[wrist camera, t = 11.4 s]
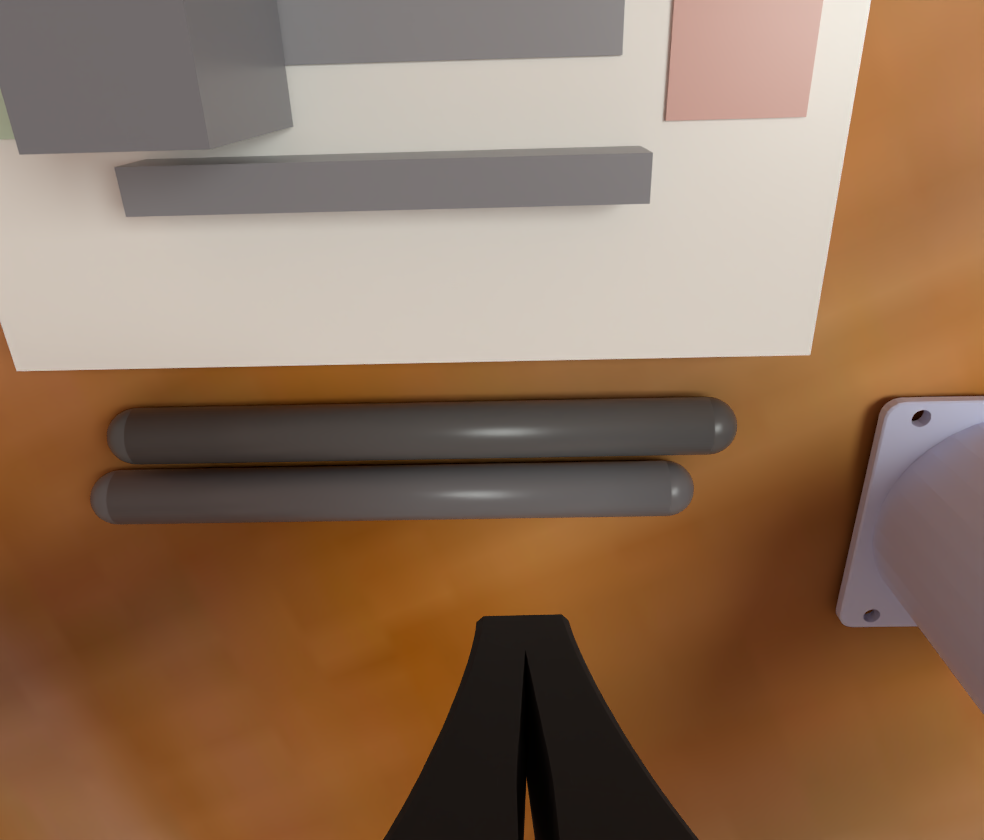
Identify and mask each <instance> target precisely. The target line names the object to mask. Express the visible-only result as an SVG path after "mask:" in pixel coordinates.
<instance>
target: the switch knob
mask: <svg viewBox="0 0 984 840" xmlns="http://www.w3.org/2000/svg"><path fill="white" fill-rule="evenodd" d="M0 89H1V93H2V96H3V99H4V103H5V106H6V110H7V113H8V117H9V120H10V124H11V127H12V131H13V134H14V138H15V141H16V144H17V148H18V151H19V155H24V154H61V153H98V152H134V151H171V150H207V149H214V148H217V147H221V146H225V145H228V144H232V143H235V142H239V141H243V140H246V139H250V138H254V137H257V136H261V135H265V134H268V133H272V132H275V131H279V130H283V129H286V128H290V127H293V120H292V113H291V105H290V98H289V90H288V83H287V75H286V68H285V61H284V53H283V46H282V38H281V31H280V23H279V16H278V8H277V1H276V0H0Z"/></svg>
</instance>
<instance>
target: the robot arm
mask: <svg viewBox="0 0 984 840" xmlns="http://www.w3.org/2000/svg"><path fill="white" fill-rule="evenodd" d="M921 410H924V413H923V415H922V417H920V418H919V419H918V420H915V421H912V417H913V415H914V414H915V413H917V412H918V411H921ZM872 609H873V611H872V612H870V613H867V614H865V612H867V611H868V610H872ZM836 614H837V616H838V618H839V619H840V621H841V622H842V624H844V625H845V626H848V627H903V626H918V627H919V629H920V630H921V631H922V633H923V634H924V635H925V637H926V638H927V639H928V641H929V642H930V643H931V645H932V646H933V647H934V649H935V650H936V651H937V653H938V654H939V655H940V657H941V658H942V659H943V661H944V662H945V663H946V665H947V666H948V667H949V669H950V670H951V672H952V673H953V674H954V676H955V677H956V678H957V680H958V681H959V682H960V684H961V685H962V686H963V688H964V689H965V690H966V692H967V693H968V694H969V696H970V697H971V698H972V700H973V701H974V702H975V704H976V705H977V706H978V708H979V709H980V710H981V712H982V713H983V714H984V396H952V397H901V398H896V399H893V400H891V401H889V402H887V403H886V404H885V405H884V406H883V407H882V409H881V411H880V414H879V418H878V422H877V427H876V431H875V436H874V440H873V445H872V449H871V454H870V458H869V463H868V467H867V472H866V476H865V481H864V485H863V490H862V494H861V499H860V503H859V507H858V512H857V516H856V521H855V525H854V530H853V534H852V539H851V543H850V548H849V552H848V557H847V561H846V566H845V570H844V575H843V579H842V584H841V588H840V593H839V597H838V602H837V606H836ZM526 777H527V784H528V792H529V799H530V806H531V813H532V821H533V828H534V835H535V840H698V838H697V837H696V836H695V835H694V833H693V832H692V831H691V829H690V828H689V827H688V825H687V824H686V823H685V822H684V820H683V819H682V818H681V816H680V815H679V814H678V812H677V811H676V810H675V808H674V807H673V806H672V804H671V803H670V802H669V800H668V799H667V797H666V796H665V795H664V793H663V792H662V791H661V789H660V788H659V786H658V785H657V783H656V782H655V780H654V779H653V778H652V776H651V775H650V773H649V772H648V770H647V769H646V767H645V766H644V764H643V763H642V761H641V760H640V758H639V756H638V755H637V753H636V752H635V750H634V749H633V747H632V746H631V744H630V742H629V741H628V739H627V738H626V736H625V734H624V733H623V731H622V730H621V728H620V726H619V724H618V723H617V721H616V719H615V717H614V716H613V714H612V712H611V710H610V709H609V707H608V705H607V704H606V702H605V700H604V698H603V697H602V695H601V693H600V691H599V689H598V687H597V685H596V683H595V682H594V680H593V678H592V676H591V674H590V671H589V669H588V667H587V665H586V663H585V661H584V659H583V657H582V655H581V653H580V650H579V648H578V646H577V643H576V641H575V638H574V636H573V633H572V630H571V627H570V624H569V621H568V620H567V619H566V618H565V617H564V616H563V615H518V616H483V617H482V618H481V619H480V620H479V621H478V622H477V623H476V631H475V636H474V641H473V645H472V649H471V653H470V656H469V659H468V663H467V666H466V669H465V672H464V675H463V677H462V680H461V683H460V686H459V689H458V691H457V693H456V696H455V698H454V701H453V703H452V706H451V708H450V711H449V713H448V716H447V718H446V721H445V723H444V725H443V728H442V730H441V732H440V734H439V736H438V738H437V741H436V743H435V745H434V747H433V749H432V751H431V753H430V755H429V757H428V759H427V761H426V763H425V765H424V768H423V770H422V772H421V774H420V776H419V778H418V780H417V781H416V783H415V785H414V787H413V789H412V791H411V793H410V794H409V796H408V798H407V800H406V802H405V804H404V805H403V807H402V809H401V811H400V812H399V814H398V816H397V817H396V819H395V821H394V823H393V824H392V826H391V828H390V829H389V831H388V833H387V835H386V836H385V838H384V839H383V840H524V820H525V796H526Z"/></svg>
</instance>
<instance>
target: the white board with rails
mask: <svg viewBox="0 0 984 840" xmlns="http://www.w3.org/2000/svg"><path fill="white" fill-rule="evenodd" d="M276 1H277V8H278V16H279V23H280V31H281V38H282V46H283V53H284V61H285V68H286V75H287V83H288V90H289V98H290V105H291V113H292V120H293V127H290V128H286V129H283V130H279V131H275V132H272V133H268V134H265V135H261V136H257V137H254V138H250V139H246V140H243V141H239V142H235V143H232V144H228V145H225V146H221V147H217V148H214V149H207V150H171V151H134V152H98V153H61V154H24V155H19V151H18V148H17V144H16V141H15V138H14V134H13V131H12V127H11V124H10V120H9V117H8V113H7V110H6V106H5V103H4V99H3V96H2V93H1V89H0V322H1V325H2V328H3V331H4V334H5V337H6V340H7V343H8V346H9V349H10V352H11V355H12V358H13V361H14V364H15V367H16V371H52V370H101V369H150V368H199V367H247V366H296V365H345V364H394V363H443V362H492V361H541V360H590V359H639V358H688V357H737V356H786V355H810V353H811V347H812V342H813V336H814V330H815V324H816V318H817V312H818V307H819V301H820V295H821V289H822V283H823V277H824V272H825V266H826V260H827V254H828V248H829V242H830V237H831V231H832V225H833V219H834V213H835V207H836V202H837V196H838V190H839V184H840V178H841V172H842V167H843V161H844V155H845V149H846V143H847V137H848V132H849V126H850V120H851V114H852V108H853V102H854V97H855V91H856V85H857V79H858V73H859V67H860V62H861V56H862V50H863V44H864V38H865V32H866V27H867V21H868V15H869V9H870V3H871V0H276ZM736 432H737V420H736V417H735V414H734V412H733V410H732V409H731V408H730V407H729V406H728V405H727V404H726V403H725V402H723V401H721V400H719V399H716V398H713V397H679V398H627V399H575V400H523V401H471V402H419V403H367V404H314V405H262V406H210V407H158V408H132V409H129V410H126V411H123V412H122V413H120V414H118V415H117V416H116V417H115V418H114V419H113V420H112V422H111V423H110V425H109V427H108V431H107V442H108V446H109V448H110V449H111V451H112V453H113V454H114V455H115V456H116V457H118V458H119V459H120V460H122V461H124V462H127V463H131V464H189V463H246V462H304V461H361V460H419V459H476V458H534V457H591V456H649V455H706V454H715V453H718V452H720V451H722V450H724V449H725V448H727V447H728V446H729V445H730V444H731V442H732V441H733V439H734V437H735V435H736ZM693 492H694V485H693V481H692V478H691V476H690V474H689V473H688V471H687V470H686V469H685V468H684V467H682V466H681V465H679V464H677V463H675V462H672V461H613V462H555V463H497V464H439V465H381V466H323V467H265V468H207V469H149V470H117V471H112V472H109V473H107V474H105V475H104V476H102V477H101V478H100V479H99V480H98V481H97V482H96V483H95V485H94V486H93V488H92V491H91V496H90V501H91V506H92V508H93V510H94V512H95V514H96V515H97V516H98V517H99V518H101V519H102V520H104V521H106V522H108V523H112V524H178V523H242V522H306V521H371V520H435V519H500V518H564V517H629V516H671V515H675V514H678V513H679V512H681V511H683V510H684V509H685V508H686V507H687V506H688V505H689V503H690V502H691V500H692V497H693Z"/></svg>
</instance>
